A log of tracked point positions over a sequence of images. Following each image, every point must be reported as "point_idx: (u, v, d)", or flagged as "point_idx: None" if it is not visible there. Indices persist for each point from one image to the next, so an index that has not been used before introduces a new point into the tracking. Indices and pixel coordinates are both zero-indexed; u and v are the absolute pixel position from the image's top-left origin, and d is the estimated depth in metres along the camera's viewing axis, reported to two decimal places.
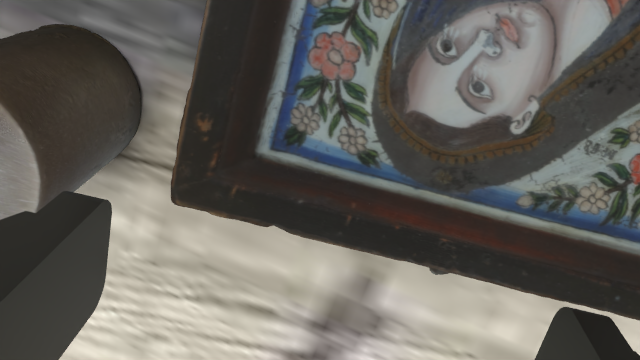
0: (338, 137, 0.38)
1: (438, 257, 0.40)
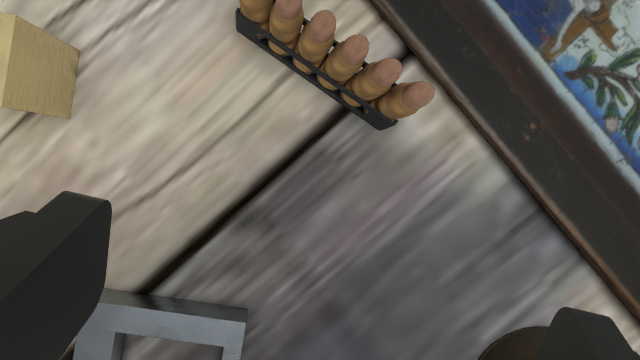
0: None
1: None
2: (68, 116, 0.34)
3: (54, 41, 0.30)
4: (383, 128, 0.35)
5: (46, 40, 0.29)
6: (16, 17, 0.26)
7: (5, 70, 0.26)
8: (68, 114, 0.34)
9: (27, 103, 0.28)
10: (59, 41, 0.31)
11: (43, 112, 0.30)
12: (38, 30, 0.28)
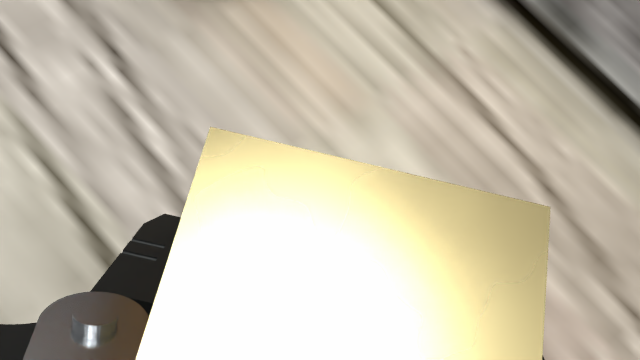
0: None
1: None
2: None
3: None
4: None
5: None
6: (217, 132, 0.07)
7: (417, 180, 0.07)
8: None
9: None
10: None
11: None
12: None
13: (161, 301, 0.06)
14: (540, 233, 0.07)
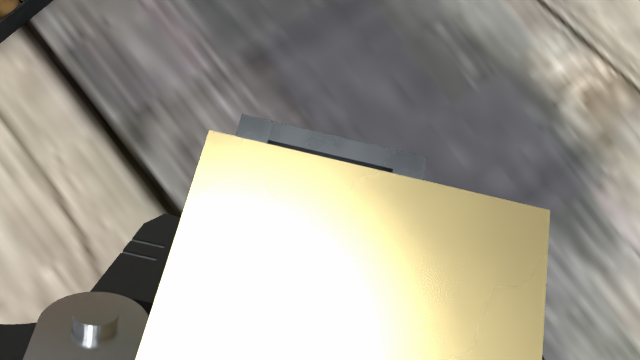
0: None
1: None
2: None
3: None
4: None
5: None
6: (216, 135, 0.07)
7: (416, 183, 0.07)
8: None
9: None
10: None
11: None
12: None
13: (160, 305, 0.06)
14: (539, 237, 0.07)
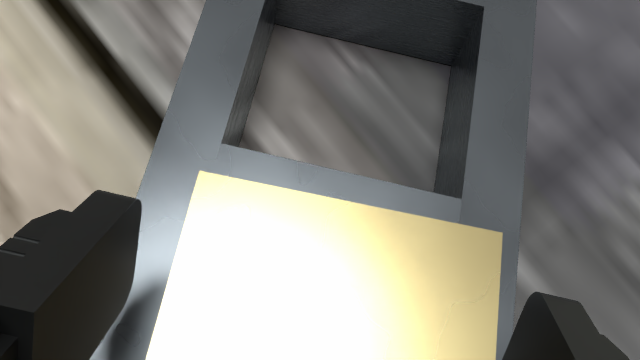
0: None
1: None
2: None
3: None
4: None
5: None
6: (206, 174, 0.08)
7: (383, 212, 0.08)
8: None
9: None
10: None
11: None
12: None
13: (160, 329, 0.07)
14: (493, 256, 0.08)
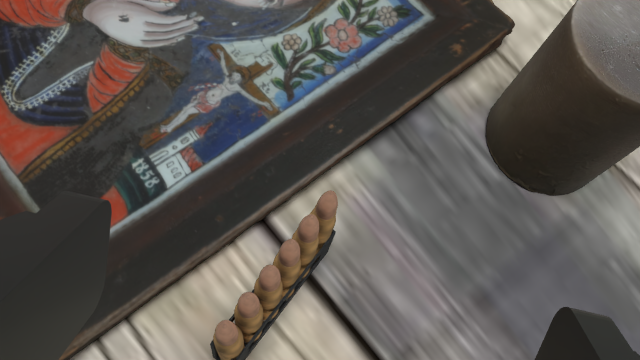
0: None
1: None
2: None
3: None
4: None
5: None
6: None
7: None
8: None
9: None
10: None
11: None
12: None
13: None
14: None
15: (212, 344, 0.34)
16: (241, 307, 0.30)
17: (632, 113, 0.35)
